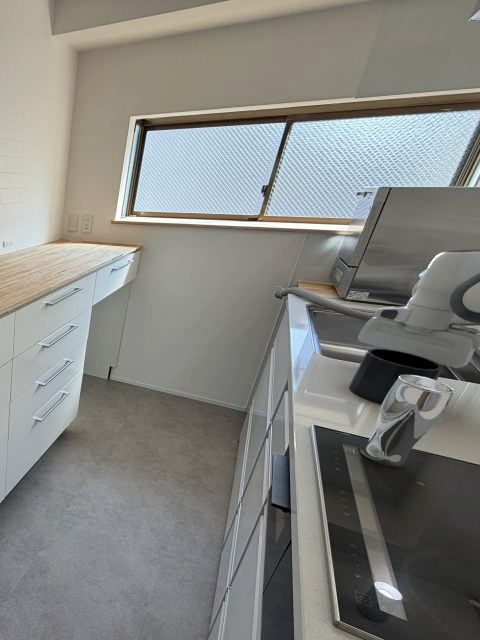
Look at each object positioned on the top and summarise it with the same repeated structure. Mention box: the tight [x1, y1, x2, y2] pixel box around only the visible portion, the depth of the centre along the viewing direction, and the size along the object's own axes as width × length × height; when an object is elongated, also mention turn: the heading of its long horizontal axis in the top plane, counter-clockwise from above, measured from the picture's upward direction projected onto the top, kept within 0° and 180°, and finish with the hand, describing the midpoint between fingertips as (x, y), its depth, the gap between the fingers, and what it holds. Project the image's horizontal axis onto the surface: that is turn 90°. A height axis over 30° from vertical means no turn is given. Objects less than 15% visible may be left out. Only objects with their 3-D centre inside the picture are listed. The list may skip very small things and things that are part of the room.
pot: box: [348, 348, 444, 405], centre depth 94 cm, size 12×12×10 cm
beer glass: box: [359, 375, 456, 469], centre depth 70 cm, size 7×7×15 cm
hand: (397, 370), depth 105 cm, fingers open, 3 cm apart
